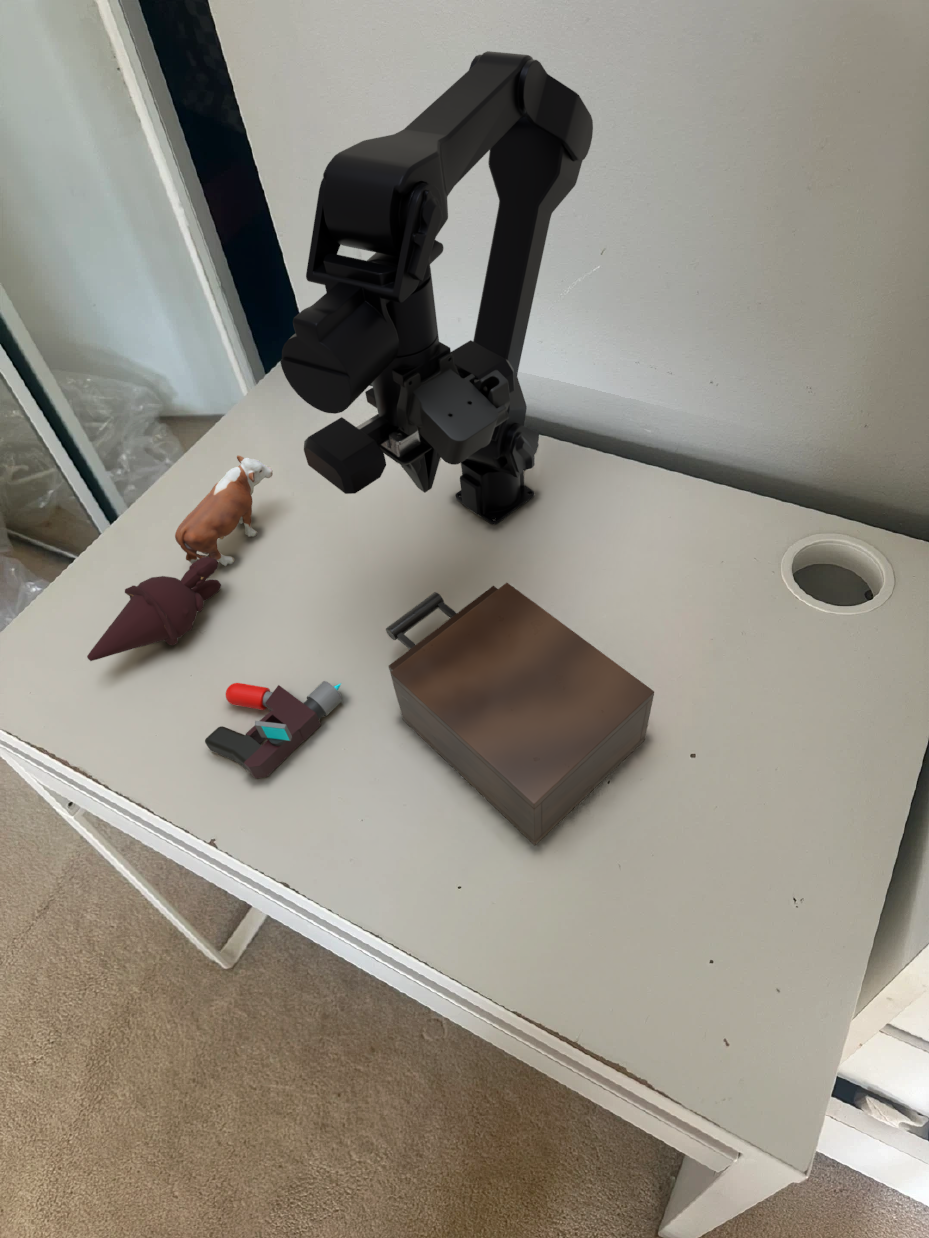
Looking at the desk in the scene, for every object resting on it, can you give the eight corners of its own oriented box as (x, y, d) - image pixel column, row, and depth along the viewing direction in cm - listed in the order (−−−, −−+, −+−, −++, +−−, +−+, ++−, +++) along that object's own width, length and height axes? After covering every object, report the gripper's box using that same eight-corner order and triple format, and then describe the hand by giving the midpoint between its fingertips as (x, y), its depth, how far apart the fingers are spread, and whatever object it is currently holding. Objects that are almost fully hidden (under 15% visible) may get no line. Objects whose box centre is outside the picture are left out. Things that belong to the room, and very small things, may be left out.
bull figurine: (292, 509, 90) (273, 453, 83) (210, 588, 83) (182, 534, 77) (263, 497, 91) (242, 441, 85) (181, 573, 85) (151, 519, 79)
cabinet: (402, 719, 71) (389, 672, 65) (509, 633, 76) (506, 581, 71) (534, 845, 63) (534, 804, 57) (645, 739, 68) (654, 691, 62)
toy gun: (357, 699, 73) (346, 669, 69) (259, 794, 68) (243, 767, 64) (286, 649, 77) (273, 618, 74) (190, 734, 72) (170, 706, 68)
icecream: (104, 666, 70) (240, 574, 77) (54, 613, 72) (191, 529, 79) (120, 701, 76) (244, 612, 83) (72, 651, 77) (198, 569, 85)
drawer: (364, 671, 74) (353, 633, 69) (461, 597, 79) (457, 557, 74) (519, 816, 64) (517, 784, 59) (620, 722, 68) (626, 685, 64)
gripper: (370, 440, 53) (403, 591, 65) (562, 321, 60) (559, 477, 72) (277, 375, 58) (323, 525, 71) (463, 273, 65) (475, 426, 78)
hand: (424, 488), depth 72 cm, fingers closed
